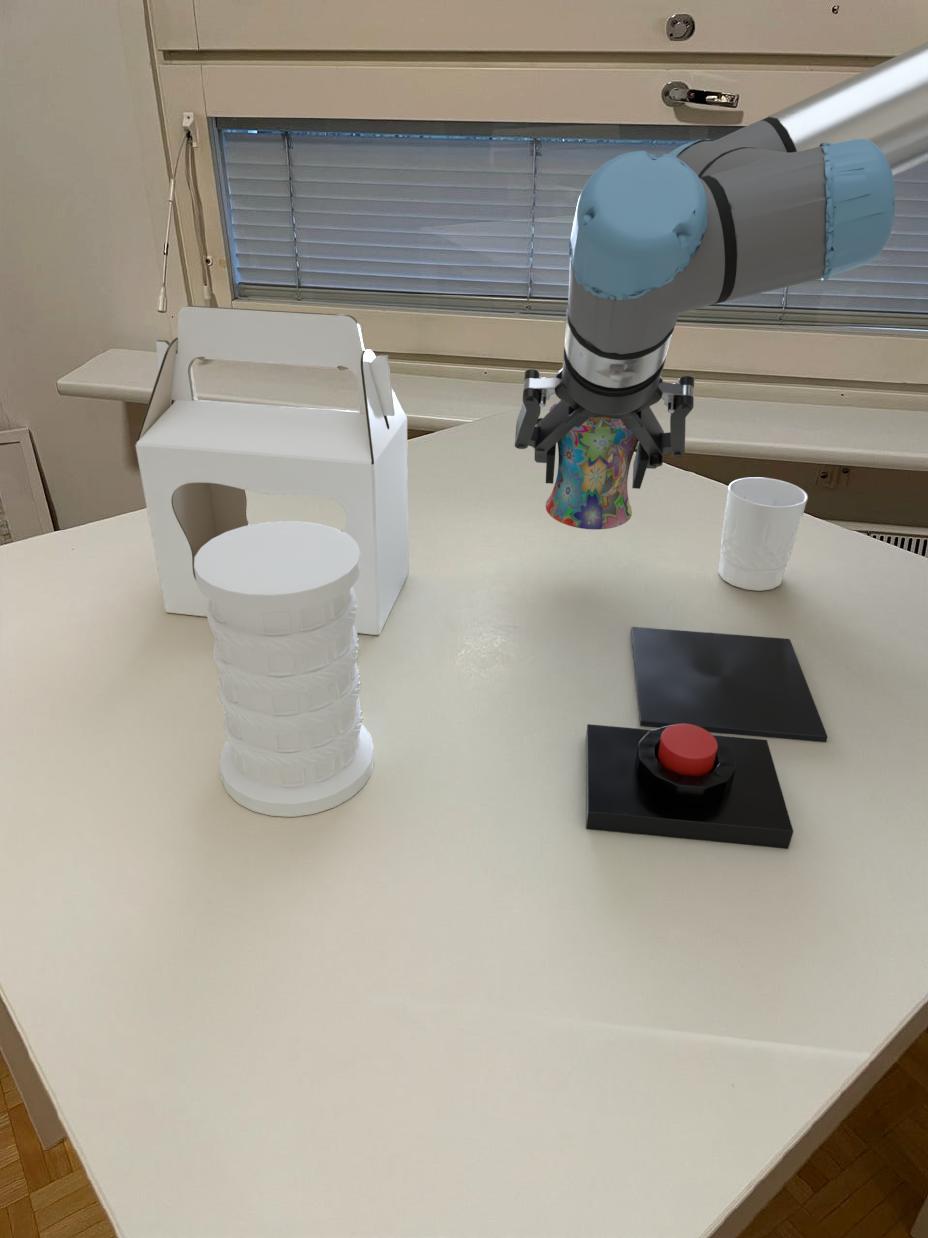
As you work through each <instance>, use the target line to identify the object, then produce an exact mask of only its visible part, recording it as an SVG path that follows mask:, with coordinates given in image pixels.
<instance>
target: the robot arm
mask: <svg viewBox="0 0 928 1238" xmlns="http://www.w3.org/2000/svg"><path fill="white" fill-rule="evenodd" d="M926 162H928V41H926V42H925V43H922V44H920V45H918V46H916V47H914V48H911V49H909V50H907V51H905V52H902V53H901V54H898V55H896V56H894V57H893V58H892V57H891V58H890V59H888V60H885V61H883V62H882V63H879V64H878V65H875V66H872V67H871V68H868V69H866V70H864V71H862V72H859V73H857V74H855V75H853V76H850V77H849V78H846V79H845V80H843V81H841V82H838V83H836V84H834V85H832V86H830V87H828V88H825V89H823V90H821V91H819V92H817V93H815V94H813V95H810V96H808V97H806V98H804V99H802V100H800V101H797V102H795V103H793V104H791V105H789V106H787V107H785V108H783V109H780V110H778V111H776V112H773V113H772V114H770V115H768V116H767V117H765V118H762V119H760V120H758V121H755V122H753V123H750V124H748V125H746V126H743V127H741V128H740V129H737V130H735V131H733V132H731V133H728V134H727V135H724V136H722V137H720V138H717V139H712V138H706V139H703V138H702V139H701V138H700V139H696V140H694V141H691V142H687V143H685V144H682V145H680V146H678V147H676V148H675V149H673V150H672V151H670V153H664V154H662V155H659V154H654V153H649V152H648V151H647V150H635V151H630V152H626V153H622V154H619V155H616V156H615V157H613V158H611V159H610V160H608V161H606V162H605V163H603V164H602V165H601V166H600V167H599V168H597V169H596V170H595V171H594V172H593V173H592V174H591V176H590V177H589V178H588V179H587V181H586V182H585V184H584V186H583V187H582V190H581V191H580V192H581V193H580V195H579V197H578V200H577V205H576V208H575V209H576V210H575V213H574V215H573V222H572V229H571V234H570V236H569V242H568V257H569V273H568V274H569V275H568V298H567V306H566V314H565V327H564V328H565V331H564V345H563V356H562V368H561V369H560V370H559V371H558V372H556V375H555V377H542V376H541V373H540V371H538V370H536V369H527V370H525V371H524V378H523V386H522V389H523V390H522V403H521V406H520V409H519V413H518V416H517V419H516V423H515V424H516V425H515V427H516V428H515V437H514V439H515V440H514V447H515V449H518V450H526V449H527V448H528V447H532V448H533V449H534V461H535V462H536V463H538V464H545V466H546V467H545V469H546V470H545V484H554V479H555V478H554V477H555V466H556V465H555V463H556V452H557V451H556V450H557V444H558V443H557V442H558V441H559V440H560V439H561V438H562V437H563V436H565V435H566V434H567V433H568V432H569V431H570V430H571V429H572V428H573V427H574V426H575V427H580V426H581V425H582V424H583V423H584V422H585V421H587V420H588V419H589V418H600V417H606V418H612V419H621V420H622V422H623V423H624V425H625V426H626V428H627V429H628V430H632V431H633V433H634V434H635V436H636V437H637V439H638V440H639V441H638V444H637V449H636V452H635V456H634V460H633V464H632V466H633V467H632V483H631V484H632V485H631V488H632V489H637V490H640V489H641V487H642V483H643V481H644V478H645V474H646V471H647V469H652V470H653V469H657V468H659V467H662V466H663V464H664V455H667V454H670V456H671V457H674V458H682V457H684V456H685V455H686V452H685V451H686V428H687V427H686V426H687V425H686V423H687V417H688V415H689V414H690V413H691V412H692V410H693V409H694V405H695V404H694V403H695V402H694V401H695V378H694V377H693V376H690V375H685V376H682V377H680V378H678V380H677V382H676V383H675V382H666V381H664V380H663V377H662V373H663V370H664V366H665V363H666V359H667V356H668V351H669V348H670V344H671V341H672V336H673V333H674V330H675V327H676V324H677V320H678V318H679V316H680V314H681V313H685V312H688V311H693V310H698V309H702V308H705V307H709V306H713V305H717V304H721V303H725V302H728V301H729V302H730V301H733V300H738V299H741V298H746V297H750V296H754V295H758V294H762V293H766V292H772V291H775V290H780V289H783V288H787V287H792V286H796V285H800V284H805V283H809V282H813V281H817V280H821V281H826V280H828V279H830V277H833V276H836V275H839V274H842V273H845V272H848V271H852V270H854V269H857V268H860V267H863V266H865V265H868V264H869V263H871V262H873V261H874V260H875V259H876V258H877V257H878V256H879V255H880V254H881V253H882V251H883V250H884V248H885V247H886V245H887V243H888V241H889V239H890V236H891V234H892V230H893V227H894V222H895V217H896V216H895V215H896V213H895V212H896V211H895V210H896V195H897V194H896V186H895V179H894V177H895V176H897V175H900V174H902V173H903V172H906V171H908V170H910V169H913V168H915V167H917V166H919V165H922V164H923V163H926ZM552 395H556V397H557V398H558V399H559V401H558V402H559V403H558V402H557V403H558V404H557V405H556V406H555V407H554V408H553V409H552V410H551V411H550V410H549V411H548V413H547V414H546V415H544V417H540V416H541V410H542V408H544V407H545V406H546V404H547V401H549V400H550V398H551V396H552ZM660 400H663V401H664V403H663V404H664V406H666V407H667V412H668V413H669V415H670V417H669V424H670V425H669V426H670V427H669V428H670V429H669V430H670V432H665V431H664V428H663V426H662V425H661V424H660V422H659V420H658V419H657V417H656V415H655V413H654V412H653V410H652V408H651V406H653V405H655V404H657V403H659V402H660Z"/></svg>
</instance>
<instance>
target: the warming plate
mask: <svg viewBox="0 0 928 1238" xmlns="http://www.w3.org/2000/svg"><path fill="white" fill-rule="evenodd" d="M630 634H631V645H632V656H633V666H634V667H633V669H634V677H635V687H636V697H637V709H638V718H639V719H638V721H639V726H640V727H646V728H655V729H658V728H661V727H665V726H670V725H675V724H690V725H695V726H698V727H701V728H703V729H705V730H707V731H708V732H709V733H713V734H726V735H737V736H750V737H762V738H771V739H772V738H773V739H781V740H782V739H784V740H794V741H795V740H796V741H805V742H806V741H807V742H817V743H818V742H819V743H827V742H828V738H829V737H828V734H827V731H826V728H825V726H824V723H823V721H822V718H821V716H820V713H819V711H818V708H817V705H816V703H815V701H814V698H813V697H814V696H813V695H812V692H811V690H810V688H809V685H808V682H807V680H806V677H805V675H804V674H805V673H804V672H803V669H802V666H801V663H800V661H799V658H798V656H797V653H796V651H795V649H794V646H793V643H792V640H791V638H783V637H772V636H771V637H769V636H758V635H757V636H755V635H746V634H744V635H743V634H732V633H720V632H719V633H717V632H706V631H693V630H682V629H681V630H680V629H678V630H677V629H666V628H653V627H644V626H643V627H642V626H631V628H630Z"/></svg>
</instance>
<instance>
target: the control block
mask: <svg viewBox="0 0 928 1238" xmlns="http://www.w3.org/2000/svg"><path fill="white" fill-rule="evenodd" d="M670 726H672V725H670ZM667 727H669V726H665V727H661V728H655V729H648V728H647V729H646V728H637V727H636V728H635V727H625V726H624V727H623V726H613V725H601V724H590V723H588V724H587V725H586V733H585V740H584V741H585V746H584V747H585V829H586V830H590V831H591V830H592V831H600V832H601V831H603V832H611V833H623V834H633V835H641V836H642V835H643V836H652V837H653V836H654V837H663V838H671V839H672V838H674V839H685V840H695V841H702V842H704V841H705V842H715V843H724V844H735V845H746V846H756V847H765V848H775V849H776V848H777V849H783V850H789V848H790V844H791V841H792V838H793V834H794V829H793V825H792V822H791V819H790V815H789V811H788V808H787V805H786V801H785V798H784V794H783V790H782V787H781V784H780V780H779V777H778V774H777V770H776V767H775V763H774V760H773V757H772V752H771V750H770V746H769V742H768V740H767V739H763V738H761V739H760V738H751V737H741V736H740V737H737V736H728V735H726V736H725V735H716V734H712V735H713V736H714V738H715V739H716V741H717V745H718V747H717V752H716V757H715V761H714V766H713V768H712V770H711V771H710V772H709V773H708V774H705V775H702V776H689V775H680V774H678V773H676V772H673V771H671V770H669V769H667V768H665V767H664V766H663V765H662V764H661V763H660V761H659V758H658V751H659V746H660V740H661V735H662V732H663V731H664V730H665V729H666V728H667Z"/></svg>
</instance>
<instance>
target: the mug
mask: <svg viewBox="0 0 928 1238" xmlns="http://www.w3.org/2000/svg"><path fill="white" fill-rule="evenodd" d="M559 402H560V401H558V402H555V403H554V404H553V405H551V406H550V407H549V412H550V411H551V410H552V409H553V408H554V407H555V406H556V405H557V404H558V403H559ZM556 444H557V450H558V451H557V452H558V464H557V474H556V479H555V482H554V486H553V488H552V491H551V493H550V495H549V497H548V498H547V500H546V501H545V511H546V512H547V514H548V515H549V516H550V517H551V518H552V519H554V520H555V521H557V522H558V523H560V524H562V525H566V526H568V527H573V528H577V529H581V530H582V529H583V530H595V531H596V530H597V531H598V530H610V529H613V528H617V527H621V526H622V525H625V524H626V523H627V522H628V521H630V520H631V517H632V516H633V508H632V506H631V503H630V499H629V494H628V493H629V492H628V491H629V490H628V482H629V481H628V480H629V471H630V466H631V462H632V459H633V456H634V453H635V451H636V448H637V447H638V445H639V440H638V439H637V437H636V436H635V434H634V433H633V431H632V430H628V429H627V428H626V426H625V425H624V423H623V422H622V420H621V419H612V418H606V417H600V418H589V419H588V420H587V421H585V422H584V423H583V424H582V425H581V426H580V427H575V426H574V427H573V428H572V429H571V430H570V431H569V432H568V433H567V434H566V435H565V436H563V437H562V438H561V439H560V440H559V441H558V442H557V443H556Z"/></svg>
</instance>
